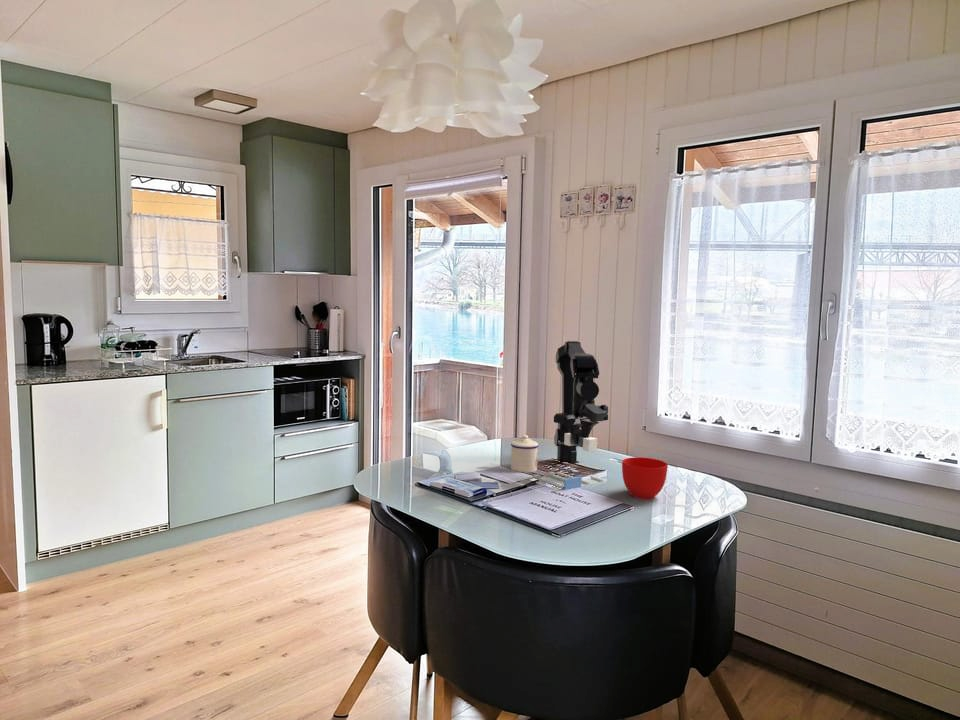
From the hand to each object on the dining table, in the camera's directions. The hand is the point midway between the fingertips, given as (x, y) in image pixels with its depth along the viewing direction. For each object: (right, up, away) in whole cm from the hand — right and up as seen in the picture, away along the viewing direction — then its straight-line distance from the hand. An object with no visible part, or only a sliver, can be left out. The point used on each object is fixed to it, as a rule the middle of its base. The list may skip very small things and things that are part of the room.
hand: (580, 443), depth 215 cm
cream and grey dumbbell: (0, -1, 0) cm, 1 cm away
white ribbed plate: (-4, -12, -2) cm, 12 cm away
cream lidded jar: (-18, -10, +12) cm, 24 cm away
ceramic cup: (+17, -13, -14) cm, 25 cm away
